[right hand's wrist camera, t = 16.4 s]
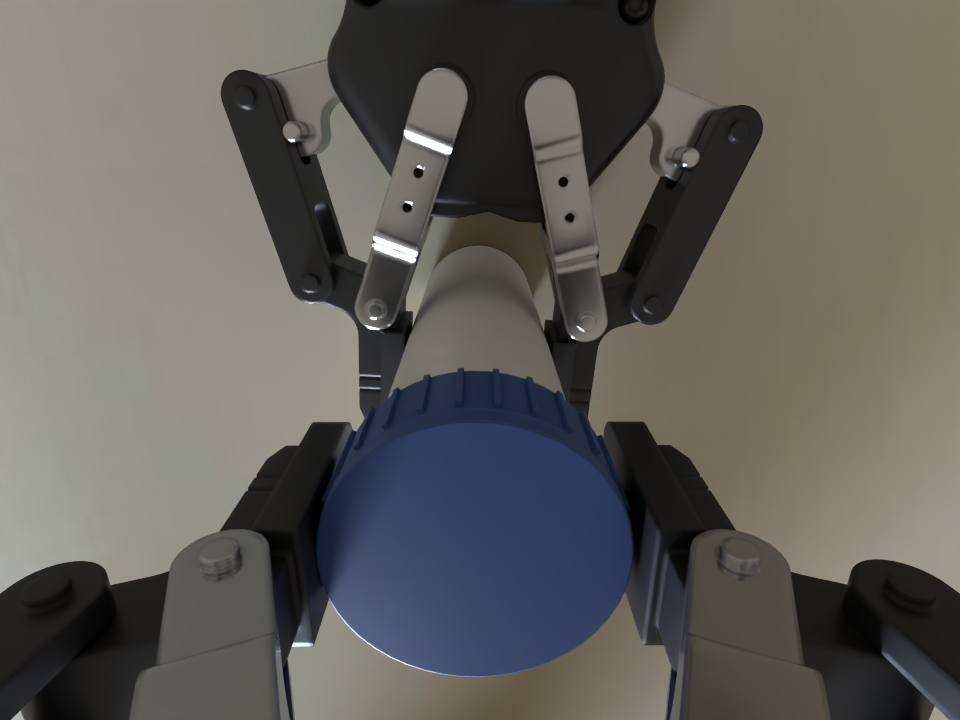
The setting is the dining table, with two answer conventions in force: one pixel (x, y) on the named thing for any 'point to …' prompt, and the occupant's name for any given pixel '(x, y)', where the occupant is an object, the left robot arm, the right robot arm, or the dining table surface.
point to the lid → (474, 526)
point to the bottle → (477, 322)
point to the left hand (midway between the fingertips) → (473, 431)
